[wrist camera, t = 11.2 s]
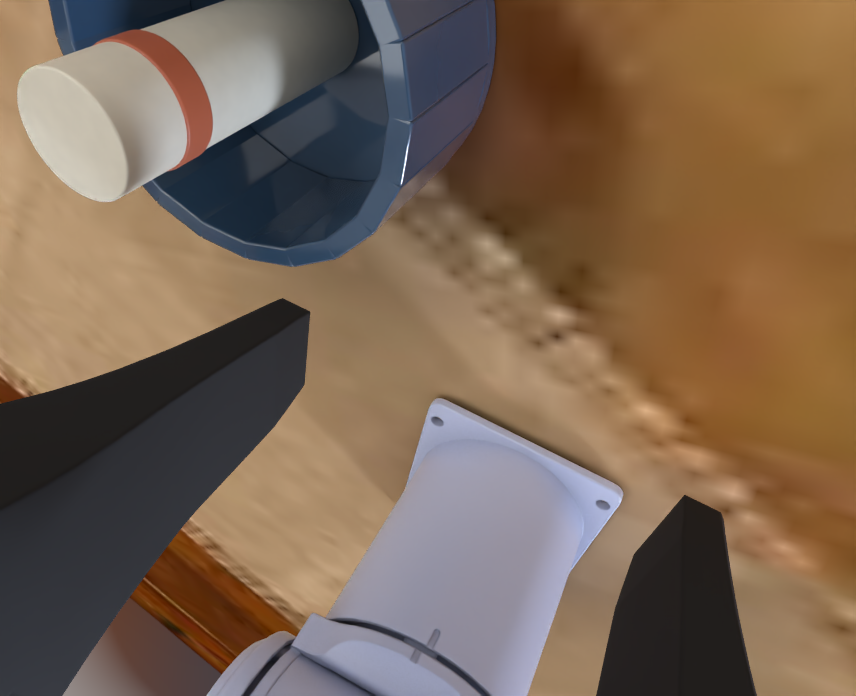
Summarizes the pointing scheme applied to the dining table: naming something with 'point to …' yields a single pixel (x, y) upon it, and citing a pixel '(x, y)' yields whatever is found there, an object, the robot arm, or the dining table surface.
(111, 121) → the dowel
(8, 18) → the dining table surface
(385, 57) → the holder
